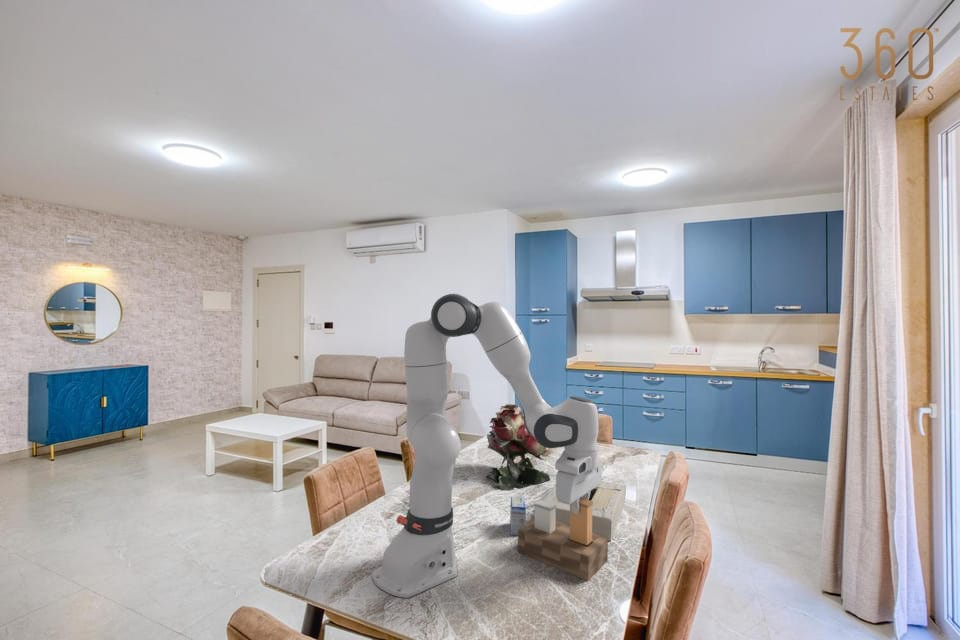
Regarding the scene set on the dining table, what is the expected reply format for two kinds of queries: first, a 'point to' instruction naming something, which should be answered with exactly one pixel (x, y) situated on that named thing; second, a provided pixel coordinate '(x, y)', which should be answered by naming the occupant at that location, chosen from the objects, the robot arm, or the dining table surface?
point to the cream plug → (545, 516)
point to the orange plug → (581, 523)
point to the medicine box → (517, 514)
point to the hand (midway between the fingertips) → (580, 510)
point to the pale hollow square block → (596, 507)
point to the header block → (563, 549)
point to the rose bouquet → (514, 450)
